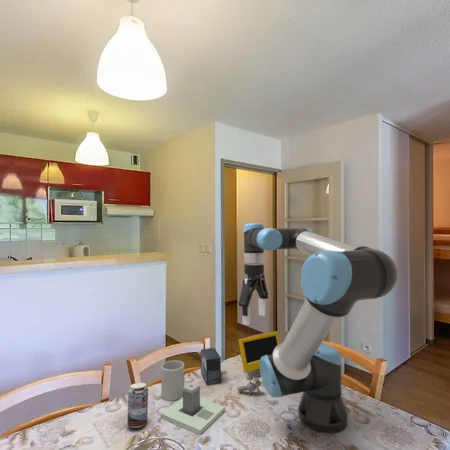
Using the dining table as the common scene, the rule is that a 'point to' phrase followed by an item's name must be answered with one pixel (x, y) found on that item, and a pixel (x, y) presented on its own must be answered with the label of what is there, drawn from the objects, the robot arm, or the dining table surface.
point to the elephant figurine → (250, 386)
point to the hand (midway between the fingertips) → (254, 319)
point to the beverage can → (137, 405)
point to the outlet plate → (199, 420)
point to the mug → (172, 380)
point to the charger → (191, 399)
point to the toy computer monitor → (257, 351)
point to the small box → (211, 366)
